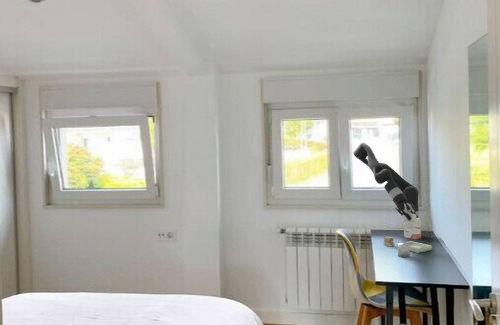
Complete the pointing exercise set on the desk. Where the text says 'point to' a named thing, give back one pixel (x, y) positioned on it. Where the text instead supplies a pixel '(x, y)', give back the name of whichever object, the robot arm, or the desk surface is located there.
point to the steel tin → (403, 249)
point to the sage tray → (418, 247)
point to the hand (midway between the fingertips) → (413, 219)
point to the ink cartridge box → (412, 227)
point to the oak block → (388, 241)
